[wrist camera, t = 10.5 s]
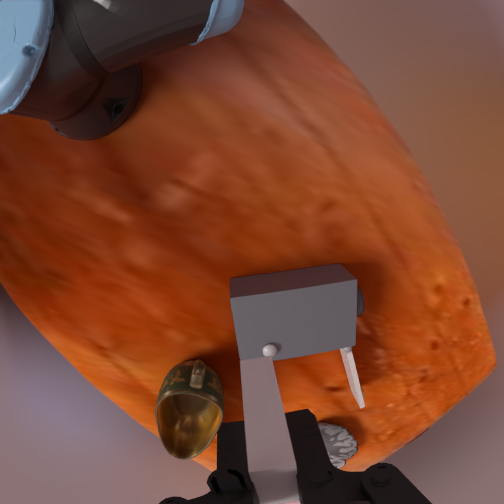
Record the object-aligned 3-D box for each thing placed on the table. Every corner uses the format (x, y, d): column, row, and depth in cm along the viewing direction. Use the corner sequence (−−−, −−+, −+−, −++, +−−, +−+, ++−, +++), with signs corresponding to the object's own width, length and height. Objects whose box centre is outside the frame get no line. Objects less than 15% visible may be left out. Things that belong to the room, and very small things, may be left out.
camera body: (229, 278, 44) (230, 300, 37) (348, 261, 45) (369, 278, 37) (239, 339, 47) (241, 367, 39) (349, 321, 47) (367, 345, 40)
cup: (261, 372, 49) (268, 414, 39) (191, 432, 52) (187, 471, 42) (198, 329, 46) (192, 368, 36) (133, 398, 49) (120, 437, 39)
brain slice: (322, 474, 59) (325, 483, 56) (259, 465, 56) (260, 475, 53) (371, 422, 55) (376, 431, 52) (305, 409, 52) (309, 420, 49)
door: (349, 388, 51) (359, 408, 45) (331, 328, 47) (343, 347, 42) (358, 384, 51) (369, 404, 45) (342, 323, 47) (355, 342, 42)
